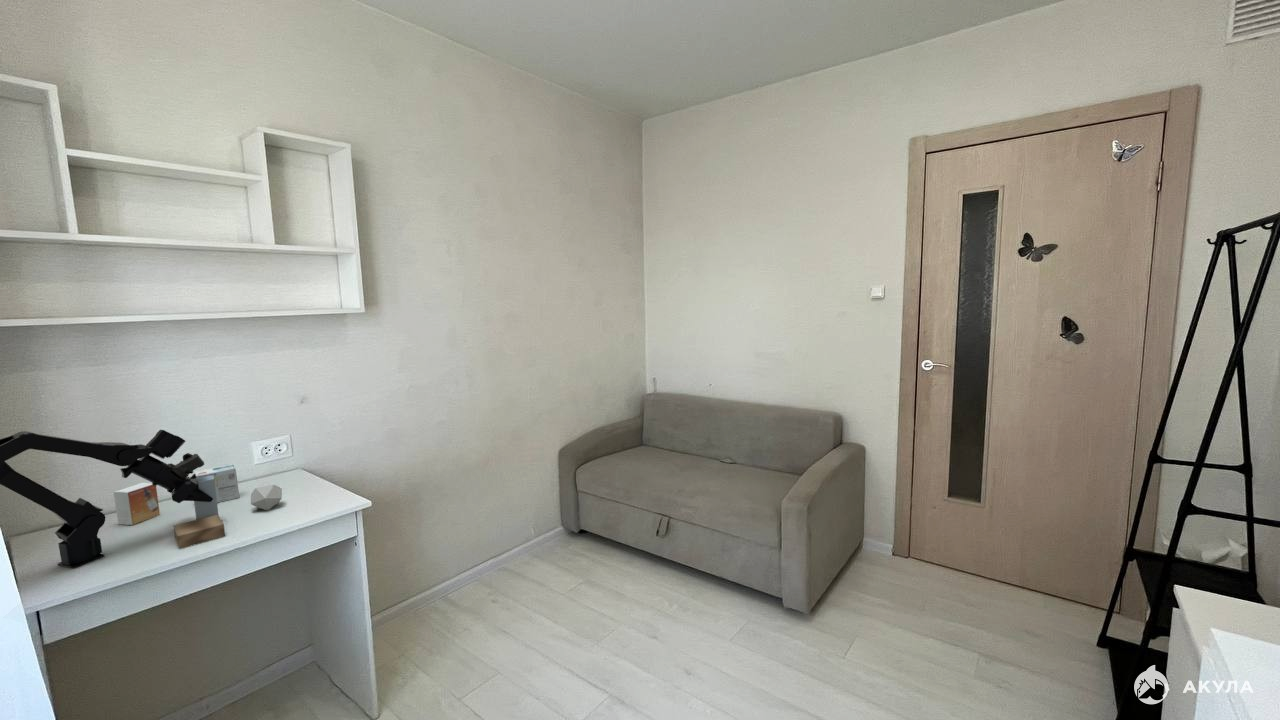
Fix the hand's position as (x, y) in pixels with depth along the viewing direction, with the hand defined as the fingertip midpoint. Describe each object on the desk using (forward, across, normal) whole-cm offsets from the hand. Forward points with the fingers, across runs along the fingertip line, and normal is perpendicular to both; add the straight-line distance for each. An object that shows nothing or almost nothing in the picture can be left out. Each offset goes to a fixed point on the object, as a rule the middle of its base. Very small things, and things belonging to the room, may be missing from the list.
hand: (211, 497), depth 158 cm
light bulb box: (+8, +22, +4) cm, 24 cm away
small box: (-6, +20, +17) cm, 27 cm away
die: (+15, +2, -4) cm, 16 cm away
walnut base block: (+3, -10, +9) cm, 13 cm away
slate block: (+4, 0, +6) cm, 7 cm away
